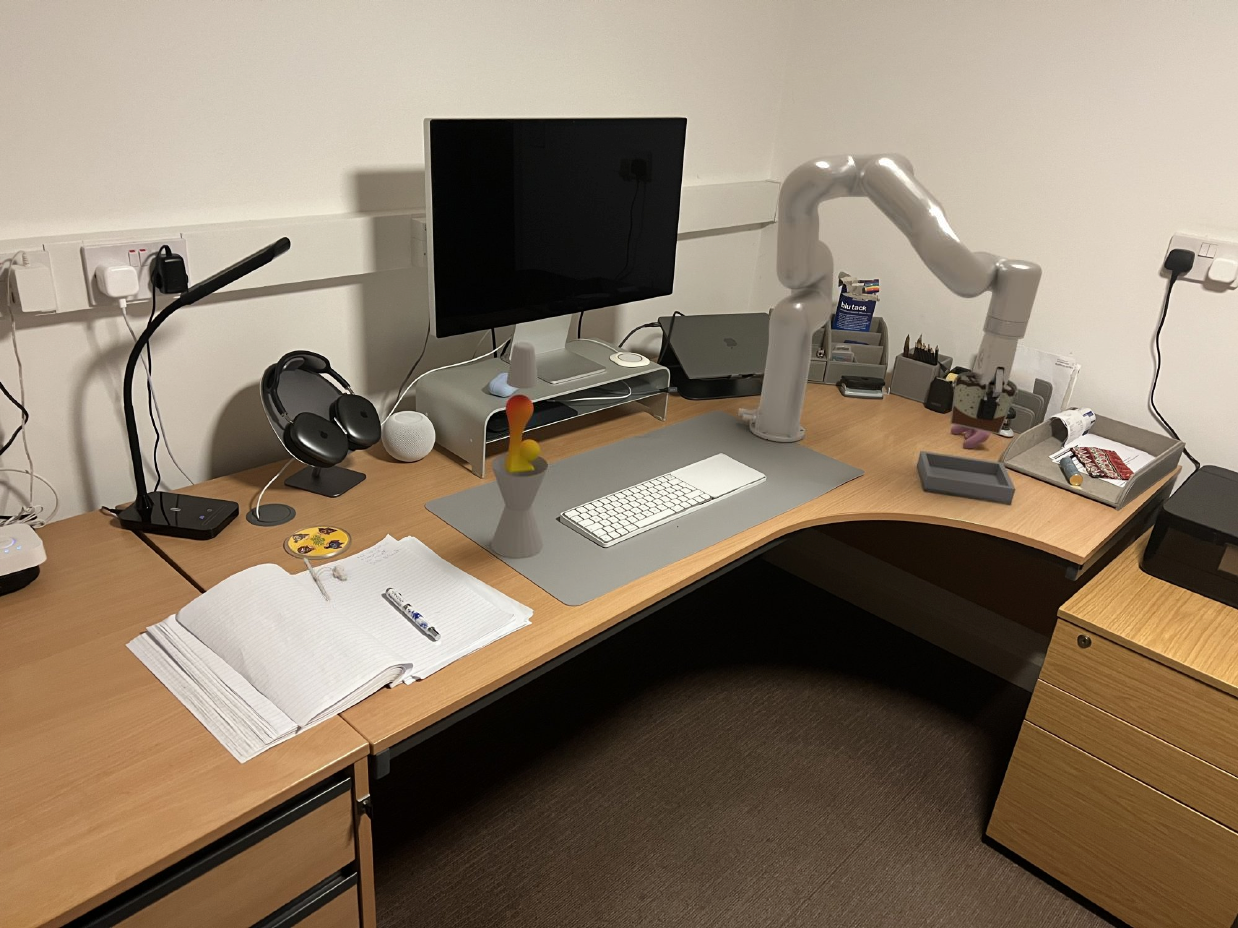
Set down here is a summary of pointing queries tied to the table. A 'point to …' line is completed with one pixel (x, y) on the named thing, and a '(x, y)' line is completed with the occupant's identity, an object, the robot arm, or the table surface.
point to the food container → (969, 400)
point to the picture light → (338, 571)
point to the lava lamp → (519, 465)
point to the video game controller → (971, 436)
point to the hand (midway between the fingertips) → (981, 412)
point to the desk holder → (965, 477)
